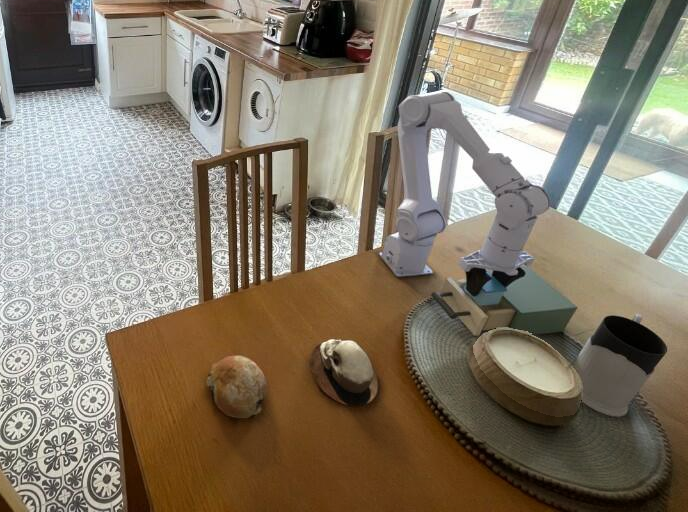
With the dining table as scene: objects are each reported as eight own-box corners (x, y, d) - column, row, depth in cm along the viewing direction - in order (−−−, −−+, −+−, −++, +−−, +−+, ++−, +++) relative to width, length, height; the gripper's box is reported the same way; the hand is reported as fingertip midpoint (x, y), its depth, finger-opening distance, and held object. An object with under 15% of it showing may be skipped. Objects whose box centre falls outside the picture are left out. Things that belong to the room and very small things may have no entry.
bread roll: (239, 439, 70) (262, 426, 65) (193, 394, 72) (211, 378, 68) (260, 390, 78) (282, 375, 73) (218, 350, 80) (236, 333, 75)
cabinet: (508, 337, 84) (521, 313, 81) (466, 293, 94) (476, 269, 91) (563, 331, 85) (578, 307, 82) (515, 288, 96) (526, 265, 93)
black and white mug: (556, 385, 75) (592, 329, 68) (577, 344, 83) (611, 290, 76) (622, 427, 69) (668, 369, 62) (638, 378, 76) (681, 322, 70)
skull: (293, 348, 80) (330, 313, 79) (323, 364, 85) (358, 331, 83) (328, 409, 70) (371, 370, 68) (360, 423, 74) (401, 387, 72)
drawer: (454, 338, 83) (462, 319, 80) (420, 297, 92) (426, 279, 90) (525, 330, 84) (534, 312, 82) (485, 290, 94) (492, 273, 91)
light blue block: (479, 307, 84) (486, 291, 82) (461, 288, 88) (467, 273, 86) (500, 304, 84) (507, 289, 82) (481, 286, 89) (488, 271, 87)
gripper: (487, 258, 75) (465, 310, 81) (557, 252, 77) (530, 303, 83) (459, 233, 82) (440, 283, 88) (524, 227, 83) (501, 277, 89)
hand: (482, 291), depth 86 cm, fingers closed on light blue block, 5 cm apart
